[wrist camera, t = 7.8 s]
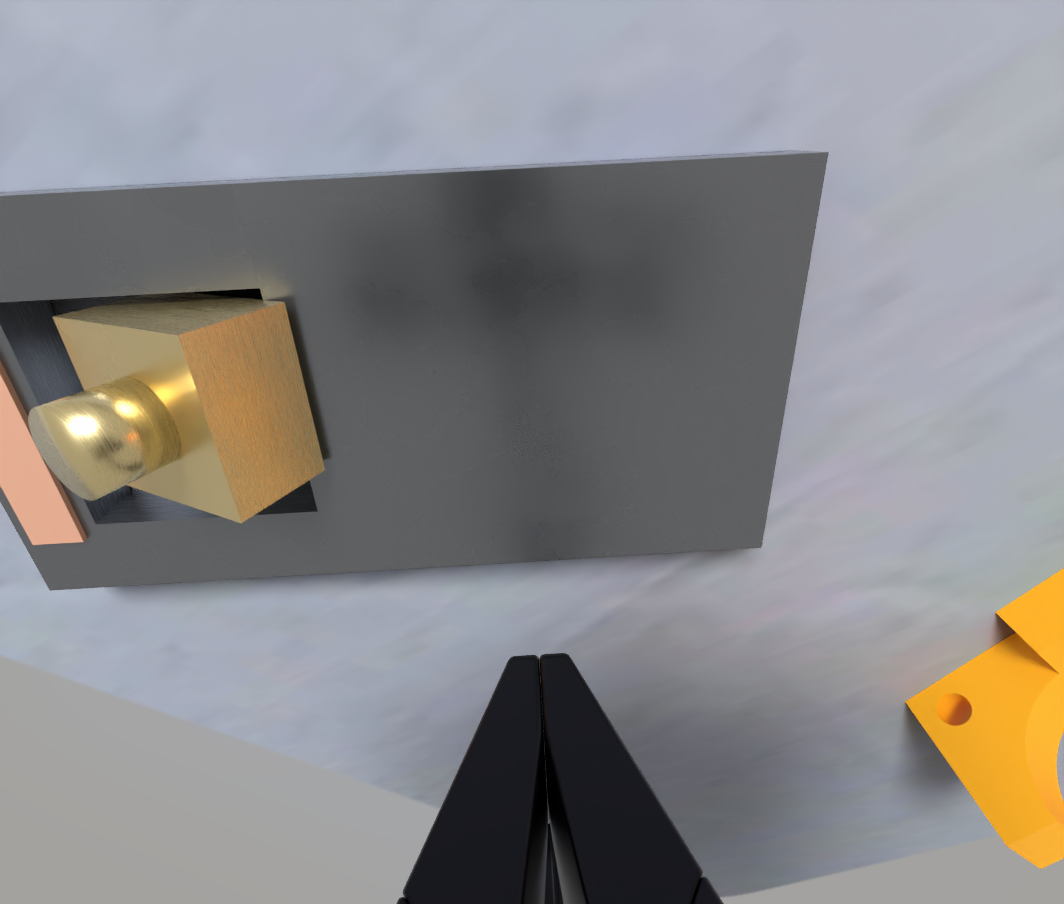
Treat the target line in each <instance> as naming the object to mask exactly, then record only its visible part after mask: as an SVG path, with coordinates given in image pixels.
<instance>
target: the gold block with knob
mask: <svg viewBox="0 0 1064 904" xmlns="http://www.w3.org/2000/svg"><path fill="white" fill-rule="evenodd" d="M53 319H54V322H55V324H56V326H57V329H58V331H59V333H60V336H61V338H62V340H63V343H64V345H65V347H66V349H67V352H68V354H69V356H70V359H71V361H72V363H73V366H74V368H75V370H76V373H77V375H78V377H79V380H80V382H81V384H82V386H83V389H84V391H81V392H78V393H75V394H72V395H69V396H67V397H64V398H61V399H58V400H55V401H52V402H49V403H46V404H43V405H40V406H37V407H35V408H32V409H31V410H30V412H29V416H28V423H29V428H30V432H31V435H32V438H33V440H34V442H35V445H36V447H37V449H38V450H39V452H40V454H41V456H42V457H43V459H44V460H45V462H46V463H47V465H48V466H49V468H50V469H51V470H52V472H53V473H54V474H55V475H56V476H57V478H58V479H59V480H60V481H61V482H62V483H63V484H64V485H65V486H66V487H67V488H68V489H70V490H71V491H72V492H73V493H75V494H76V495H78V496H79V497H81V498H83V499H86V500H90V501H93V500H96V499H98V498H101V497H103V496H105V495H107V494H109V493H111V492H113V491H115V490H117V489H119V488H121V487H123V486H125V485H127V486H130V487H133V488H136V489H139V490H142V491H145V492H148V493H151V494H154V495H157V496H160V497H163V498H166V499H169V500H172V501H175V502H178V503H181V504H184V505H187V506H190V507H193V508H196V509H199V510H202V511H205V512H208V513H211V514H214V515H217V516H220V517H223V518H226V519H229V520H232V521H235V522H238V523H243V522H244V521H246V520H247V519H249V518H251V517H252V516H254V515H255V514H257V513H258V512H260V511H262V510H263V509H265V508H266V507H268V506H269V505H271V504H273V503H274V502H276V501H277V500H279V499H280V498H282V497H284V496H285V495H287V494H288V493H290V492H291V491H293V490H295V489H296V488H298V487H299V486H301V485H302V484H304V483H305V482H307V481H309V480H310V479H312V478H313V477H315V476H316V475H318V474H320V473H321V472H323V471H324V470H325V467H324V463H323V459H322V455H321V450H320V446H319V442H318V438H317V434H316V430H315V426H314V422H313V417H312V413H311V409H310V405H309V401H308V397H307V393H306V389H305V384H304V380H303V376H302V372H301V368H300V364H299V360H298V356H297V352H296V347H295V343H294V339H293V335H292V331H291V327H290V323H289V319H288V314H287V310H286V306H285V302H278V301H268V300H258V299H248V298H238V297H228V296H218V295H208V294H198V293H188V292H182V293H164V294H145V295H140V296H136V297H132V298H128V299H123V300H119V301H115V302H111V303H107V304H103V305H98V306H94V307H90V308H86V309H82V310H78V311H74V312H69V313H65V314H61V315H57V316H53Z"/></svg>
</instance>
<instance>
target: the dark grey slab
mask: <svg viewBox="0 0 1064 904" xmlns="http://www.w3.org/2000/svg"><path fill="white" fill-rule="evenodd" d="M827 157H828V152H811V151H778V152H759V153H740V154H721V155H702V156H683V157H664V158H645V159H626V160H607V161H588V162H568V163H549V164H530V165H511V166H492V167H473V168H454V169H435V170H416V171H397V172H378V173H359V174H340V175H321V176H302V177H283V178H264V179H245V180H226V181H207V182H188V183H169V184H150V185H130V186H111V187H92V188H73V189H54V190H35V191H16V192H0V502H1V503H2V505H3V507H4V509H5V511H6V512H7V514H8V516H9V518H10V520H11V521H12V523H13V525H14V527H15V529H16V530H17V532H18V534H19V536H20V538H21V539H22V541H23V543H24V545H25V546H26V548H27V550H28V552H29V554H30V555H31V557H32V559H33V561H34V563H35V564H36V566H37V568H38V570H39V572H40V573H41V575H42V577H43V579H44V581H45V582H46V584H47V586H48V588H49V590H64V589H81V588H97V587H114V586H131V585H147V584H164V583H181V582H197V581H214V580H230V579H247V578H264V577H280V576H297V575H313V574H330V573H347V572H363V571H380V570H397V569H413V568H430V567H446V566H463V565H480V564H496V563H513V562H529V561H546V560H563V559H579V558H596V557H613V556H629V555H646V554H662V553H679V552H696V551H712V550H729V549H746V548H761V546H762V540H763V535H764V529H765V523H766V517H767V511H768V505H769V499H770V493H771V487H772V482H773V476H774V470H775V464H776V458H777V452H778V446H779V440H780V434H781V428H782V423H783V417H784V411H785V405H786V399H787V393H788V387H789V381H790V375H791V370H792V364H793V358H794V352H795V346H796V340H797V334H798V328H799V322H800V316H801V311H802V305H803V299H804V293H805V287H806V281H807V275H808V269H809V263H810V258H811V252H812V246H813V240H814V234H815V228H816V222H817V216H818V210H819V205H820V199H821V193H822V187H823V181H824V175H825V169H826V163H827ZM255 288H260V290H261V294H262V298H263V300H268V301H278V302H285V306H286V310H287V314H288V319H289V323H290V327H291V331H292V335H293V339H294V343H295V347H296V352H297V356H298V360H299V364H300V368H301V372H302V376H303V380H304V384H305V389H306V393H307V397H308V401H309V405H310V409H311V413H312V417H313V422H314V426H315V430H316V434H317V438H318V442H319V446H320V450H321V455H322V459H323V463H324V467H325V470H324V471H323V472H321V473H320V474H318V475H316V476H315V477H313V478H312V479H310V481H307V482H305V483H304V484H302V485H301V486H299V487H298V488H296V489H295V490H293V491H291V492H290V493H288V494H287V495H285V496H284V497H282V498H280V499H279V500H277V501H276V502H274V503H273V504H271V505H269V506H268V507H266V508H265V509H263V510H262V511H260V512H258V513H257V514H255V515H254V516H252V517H251V518H249V519H247V520H246V521H244V522H243V523H238V522H235V521H232V520H229V519H226V518H223V517H220V516H217V515H214V514H211V513H208V512H205V511H202V510H199V509H196V508H193V507H190V506H187V505H184V504H181V503H178V502H175V501H172V500H169V499H166V498H163V497H160V496H157V495H154V494H151V493H148V492H145V491H131V490H130V487H129V486H127V485H125V486H123V487H121V488H119V489H117V490H115V491H113V492H111V493H109V494H107V495H105V496H103V497H101V498H98V499H96V500H93V501H90V500H86V499H83V498H81V497H79V496H78V495H76V494H75V493H73V492H72V491H71V490H70V489H68V488H67V487H66V486H65V485H64V484H63V483H62V482H61V481H60V480H59V479H58V478H57V476H56V475H55V474H54V473H53V472H52V470H51V469H50V468H49V466H48V465H47V463H46V462H45V460H44V459H43V457H42V456H41V454H40V452H39V450H38V449H37V447H36V445H35V442H34V440H33V438H32V435H31V432H30V428H29V423H28V416H29V412H30V410H31V409H32V408H35V407H37V406H40V405H43V404H46V403H49V402H52V401H55V400H58V399H61V398H64V397H67V396H69V395H72V394H75V393H78V392H81V391H84V389H83V386H82V384H81V382H80V380H79V377H78V375H77V373H76V370H75V368H74V366H73V363H72V361H71V359H70V356H69V354H68V352H67V349H66V347H65V345H64V343H63V340H62V338H61V336H60V333H59V331H58V329H57V326H56V324H55V322H54V319H53V316H56V315H55V312H54V310H53V308H52V305H51V303H50V301H49V300H54V299H72V298H91V297H109V296H127V295H145V294H164V293H182V292H200V291H219V290H237V289H255Z"/></svg>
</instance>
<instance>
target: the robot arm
mask: <svg viewBox="0 0 1064 904" xmlns="http://www.w3.org/2000/svg"><path fill="white" fill-rule="evenodd" d="M539 661H540V667H539ZM540 679H541V683H540ZM541 696H542V699H541ZM542 713H543V715H542ZM543 729H544V732H543ZM544 746H545V750H544ZM545 762H546V767H545ZM546 779H547V784H546ZM547 795H548V803H547ZM548 808H549V819H550V824H548ZM702 875H703V871H702V869H701V867H700V866H699V864H698V862H697V861H696V859H695V858H694V856H693V854H692V853H691V851H690V850H689V848H688V846H687V845H686V843H685V841H684V840H683V838H682V837H681V835H680V833H679V832H678V830H677V829H676V827H675V825H674V824H673V822H672V820H671V819H670V817H669V816H668V814H667V812H666V811H665V809H664V808H663V806H662V804H661V803H660V801H659V799H658V798H657V796H656V795H655V793H654V791H653V790H652V788H651V787H650V785H649V783H648V782H647V780H646V779H645V777H644V775H643V774H642V772H641V770H640V769H639V767H638V766H637V764H636V762H635V761H634V759H633V758H632V756H631V754H630V753H629V751H628V749H627V748H626V746H625V745H624V743H623V741H622V740H621V738H620V737H619V735H618V733H617V732H616V730H615V729H614V727H613V725H612V724H611V722H610V720H609V719H608V717H607V716H606V714H605V712H604V711H603V709H602V708H601V706H600V704H599V703H598V701H597V699H596V698H595V696H594V695H593V693H592V691H591V690H590V688H589V687H588V685H587V683H586V682H585V680H584V678H583V677H582V675H581V674H580V672H579V670H578V669H577V667H576V666H575V664H574V662H573V661H572V659H571V658H570V656H569V655H567V654H566V653H557V654H544V655H542V656H541V657H540V660H539V658H538V657H537V656H536V655H526V656H514V657H511V658H510V659H509V661H508V662H507V665H506V667H505V669H504V671H503V673H502V675H501V678H500V680H499V682H498V684H497V686H496V689H495V691H494V693H493V695H492V697H491V699H490V702H489V704H488V706H487V708H486V710H485V713H484V715H483V717H482V719H481V721H480V724H479V726H478V728H477V730H476V732H475V734H474V737H473V739H472V741H471V743H470V745H469V748H468V750H467V752H466V754H465V756H464V758H463V761H462V763H461V765H460V767H459V769H458V772H457V774H456V776H455V778H454V780H453V782H452V785H451V787H450V789H449V791H448V793H447V796H446V798H445V800H444V802H443V804H442V806H441V809H440V811H439V813H438V815H437V817H436V820H435V822H434V824H433V826H432V828H431V830H430V833H429V835H428V837H427V839H426V842H425V844H424V846H423V848H422V850H421V852H420V855H419V857H418V859H417V861H416V863H415V865H414V868H413V870H412V872H411V874H410V876H409V879H408V881H407V883H406V885H405V887H404V889H403V895H404V897H401V898H399V900H398V902H397V904H723V902H722V901H721V899H720V897H719V896H718V894H717V892H716V891H715V889H714V888H713V886H712V884H711V883H710V881H709V880H708V878H706V877H702Z"/></svg>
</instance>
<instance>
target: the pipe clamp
mask: <svg viewBox="0 0 1064 904" xmlns="http://www.w3.org/2000/svg"><path fill="white" fill-rule="evenodd" d="M996 613H997V614H998V615H999V616H1000V617H1001V618H1002V619H1003V620H1004V621H1005V622H1006V623H1007V624H1008V625H1009V626H1010V627H1011V628H1012V629H1013V630H1014V631H1015V633H1014V634H1012V635H1010V636H1009V637H1007V638H1006V639H1004V640H1002V641H1001V642H999V643H998V644H996V645H994V646H993V647H991V648H990V649H988V650H987V651H985V652H983V653H982V654H980V655H979V656H977V657H975V658H974V659H972V660H971V661H969V662H968V663H966V664H964V665H963V666H961V667H960V668H958V669H956V670H955V671H953V672H952V673H950V674H949V675H947V676H945V677H944V678H942V679H941V680H939V681H937V682H936V683H934V684H933V685H931V686H930V687H928V688H926V689H925V690H923V691H922V692H920V693H918V694H917V695H915V696H914V697H912V698H911V699H909V700H907V701H906V704H907V705H908V706H909V708H910V709H911V711H912V712H913V713H914V715H915V716H916V718H917V719H918V721H919V722H920V723H921V725H922V726H923V728H924V729H925V731H926V732H927V733H928V735H929V736H930V738H931V739H932V740H933V742H934V743H935V745H936V746H937V748H938V749H939V750H940V752H941V753H942V755H943V756H944V757H945V759H946V760H947V762H948V763H949V765H950V766H951V767H952V769H953V770H954V772H955V773H956V774H957V776H958V777H959V779H960V780H961V782H962V783H963V784H964V786H965V787H966V789H967V790H968V792H969V793H970V794H971V796H972V797H973V799H974V800H975V801H976V803H977V804H978V806H979V807H980V809H981V810H982V811H983V813H984V814H985V816H986V817H987V818H988V820H989V821H990V823H991V824H992V826H993V827H994V828H995V830H996V831H997V833H998V834H999V835H1000V837H1001V838H1002V840H1003V841H1004V843H1005V844H1006V845H1007V847H1009V848H1010V849H1012V850H1013V851H1015V852H1016V853H1018V854H1019V855H1021V856H1022V857H1024V858H1025V859H1027V860H1028V861H1030V862H1031V863H1033V864H1034V865H1035V866H1037V867H1039V868H1040V869H1042V868H1044V867H1046V866H1048V865H1050V864H1052V863H1054V862H1057V861H1059V860H1061V859H1063V858H1064V801H1063V798H1062V796H1061V792H1060V788H1059V785H1058V778H1057V768H1056V759H1057V751H1058V746H1059V743H1060V739H1061V737H1062V734H1063V732H1064V568H1063V569H1062V570H1060V571H1059V572H1057V573H1056V574H1054V575H1053V576H1051V577H1049V578H1048V579H1046V580H1045V581H1043V582H1042V583H1040V584H1039V585H1037V586H1036V587H1034V588H1033V589H1031V590H1030V591H1028V592H1026V593H1025V594H1023V595H1022V596H1020V597H1019V598H1017V599H1016V600H1014V601H1013V602H1011V603H1010V604H1008V605H1007V606H1005V607H1003V608H1002V609H1000V610H999V611H997V612H996Z"/></svg>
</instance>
